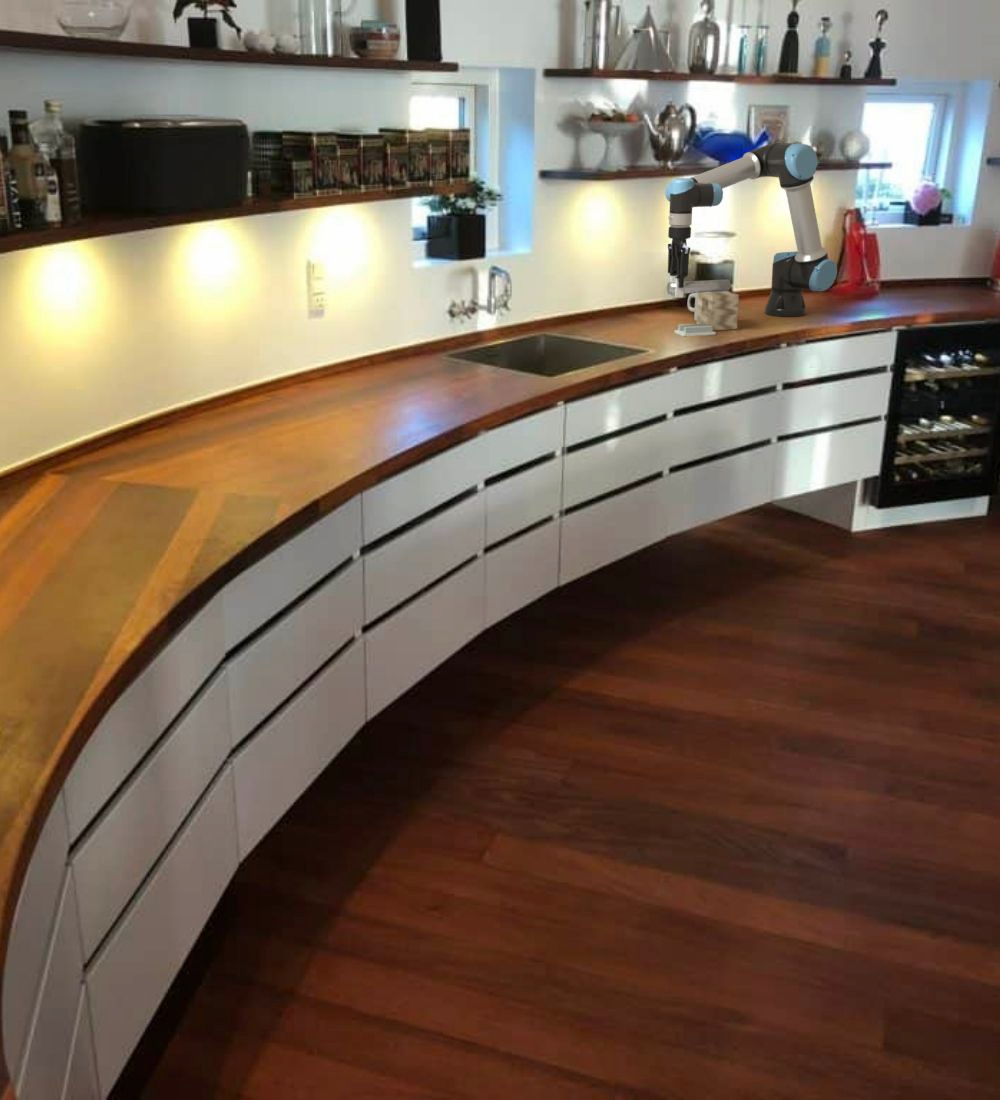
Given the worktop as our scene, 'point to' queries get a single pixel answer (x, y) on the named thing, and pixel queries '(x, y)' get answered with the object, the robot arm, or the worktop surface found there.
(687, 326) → the cradle
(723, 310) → the patterned beige cube
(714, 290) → the axle
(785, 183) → the robot arm
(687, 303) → the mug
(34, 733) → the worktop surface
